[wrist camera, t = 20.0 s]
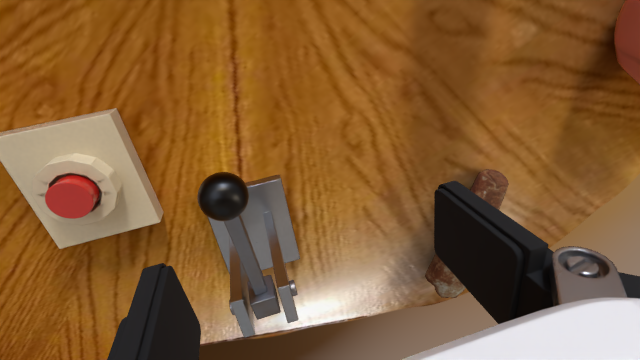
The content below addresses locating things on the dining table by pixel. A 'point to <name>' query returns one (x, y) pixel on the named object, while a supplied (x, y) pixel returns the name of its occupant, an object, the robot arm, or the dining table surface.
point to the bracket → (261, 249)
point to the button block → (82, 174)
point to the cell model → (628, 38)
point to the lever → (239, 235)
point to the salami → (492, 191)
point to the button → (72, 196)
